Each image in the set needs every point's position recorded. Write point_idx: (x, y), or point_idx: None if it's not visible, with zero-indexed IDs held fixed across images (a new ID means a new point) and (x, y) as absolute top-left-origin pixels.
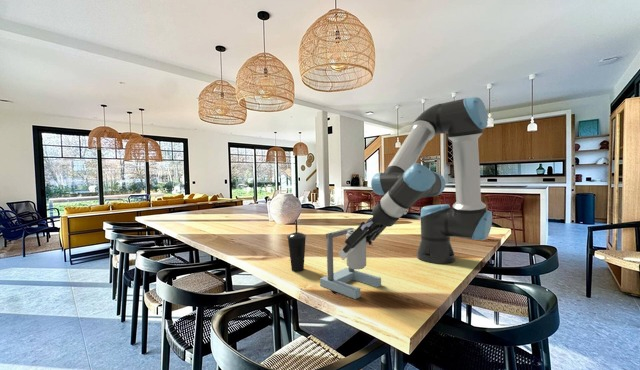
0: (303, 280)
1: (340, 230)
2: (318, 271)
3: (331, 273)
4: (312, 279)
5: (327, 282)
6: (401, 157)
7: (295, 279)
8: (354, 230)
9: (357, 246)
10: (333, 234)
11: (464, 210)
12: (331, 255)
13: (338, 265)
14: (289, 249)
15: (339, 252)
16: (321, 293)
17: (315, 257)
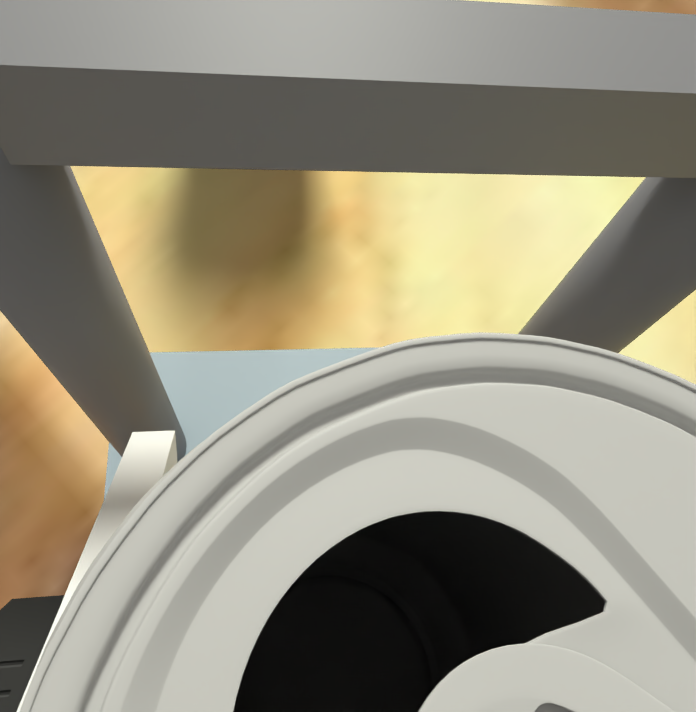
0: (128, 218)
1: (469, 11)
2: (344, 179)
3: (123, 452)
4: (191, 250)
5: (111, 452)
6: None
7: (103, 166)
8: (636, 583)
9: None
10: (22, 95)
11: None
12: (64, 373)
13: (551, 202)
14: None
15: (125, 463)
16: (6, 502)
17: (518, 2)
